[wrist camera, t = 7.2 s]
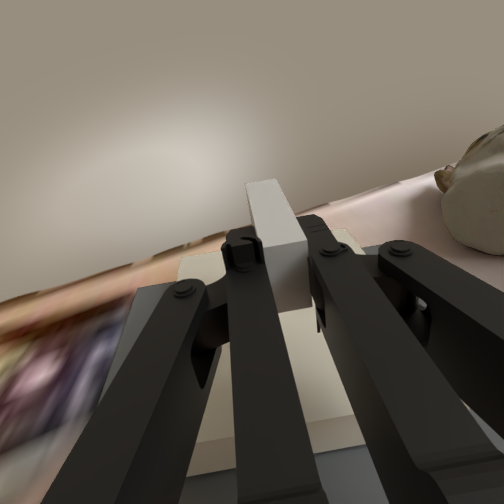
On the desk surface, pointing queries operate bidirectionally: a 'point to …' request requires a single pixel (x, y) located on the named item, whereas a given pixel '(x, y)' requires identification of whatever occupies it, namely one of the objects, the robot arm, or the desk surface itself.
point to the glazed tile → (304, 370)
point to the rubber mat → (328, 463)
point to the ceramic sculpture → (476, 194)
